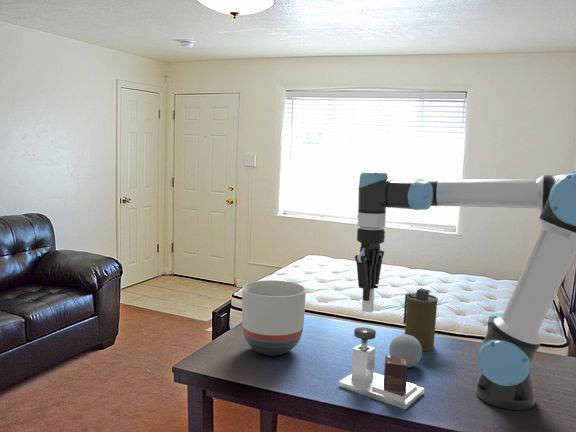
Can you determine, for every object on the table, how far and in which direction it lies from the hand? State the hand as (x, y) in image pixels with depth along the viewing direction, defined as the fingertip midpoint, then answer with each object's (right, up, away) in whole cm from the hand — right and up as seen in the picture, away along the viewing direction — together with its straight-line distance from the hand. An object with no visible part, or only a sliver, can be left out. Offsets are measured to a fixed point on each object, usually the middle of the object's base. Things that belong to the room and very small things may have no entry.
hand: (367, 311), depth 143 cm
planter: (-28, -18, +24) cm, 41 cm away
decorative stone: (+14, -20, +16) cm, 30 cm away
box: (+7, -20, -4) cm, 21 cm away
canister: (+23, -19, +34) cm, 45 cm away
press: (+4, -22, -1) cm, 22 cm away
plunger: (-1, -19, +2) cm, 19 cm away
